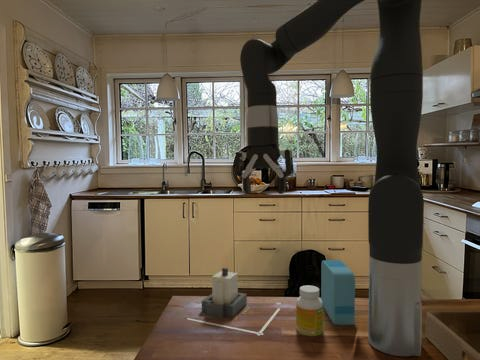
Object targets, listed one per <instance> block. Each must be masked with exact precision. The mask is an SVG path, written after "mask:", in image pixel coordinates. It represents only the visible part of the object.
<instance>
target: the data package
mask: <svg viewBox="0 0 480 360" xmlns="http://www.w3.org/2000/svg"><path fill="white" fill-rule="evenodd" d="M320 268H321V271H320V273H321V275H320V276H321V283H320V285H321V286H320V287H321V288H320V293H321V295H320V299H321V300H322V302H323V309H324V310H325V312H326V314H327V315H328V317H329V319H330V321H331V323H332V324H333V325H338V326H339V325H341V326H343V325H347V326H348V325H352V326H353V325H355V324H356V323H355V320H356V319H355V318H356V317H355V316H356V315H355V314H356V310H355V309H356V307H355V306H356V299H355V298H356V277H355V274H354V272H353V271H352V270H351V269H350V268H349V267H348V266H347V265H346V264H345V263H344V262H343V261H342V260H337V259H334V260H333V259H331V260H327V259H326V260H325V259H324V260H322V261H321V267H320Z"/></svg>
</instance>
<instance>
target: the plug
mask: <svg viewBox="0 0 480 360" xmlns="http://www.w3.org/2000/svg"><path fill="white" fill-rule="evenodd" d="M238 275H239V274H238V272H233V271H232V272H231V271H229V267H222V269H221V270H219V271H218V272H216V273H215V274H214V275H212V277H211V286H212V287H211V288H212V292H211V294H212V301H213V304H218V305H223V304H224V303H227V304H231V303H232V302H234V301H235V300H236V299H237V298H238V293H239V286H238V285H239V284H238V283H239V282H238V281H239V279H238V277H239V276H238Z"/></svg>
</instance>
